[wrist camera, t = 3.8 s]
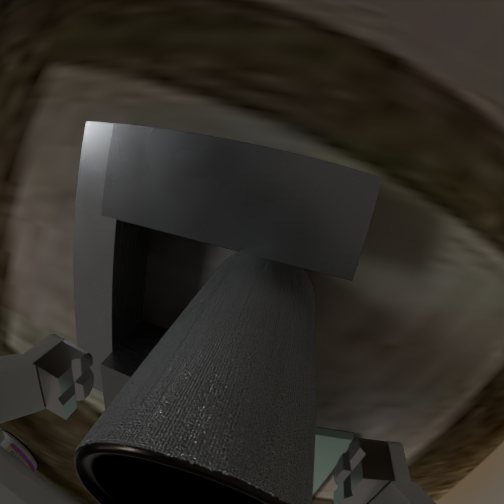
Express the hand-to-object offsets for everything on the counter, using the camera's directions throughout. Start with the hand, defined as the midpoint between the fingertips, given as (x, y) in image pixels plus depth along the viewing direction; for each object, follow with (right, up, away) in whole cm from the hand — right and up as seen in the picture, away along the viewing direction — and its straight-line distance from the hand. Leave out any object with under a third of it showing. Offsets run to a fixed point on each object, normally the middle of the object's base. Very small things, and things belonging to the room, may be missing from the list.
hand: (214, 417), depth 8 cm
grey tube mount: (-1, +3, +6) cm, 7 cm away
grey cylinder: (+2, +3, +6) cm, 7 cm away
